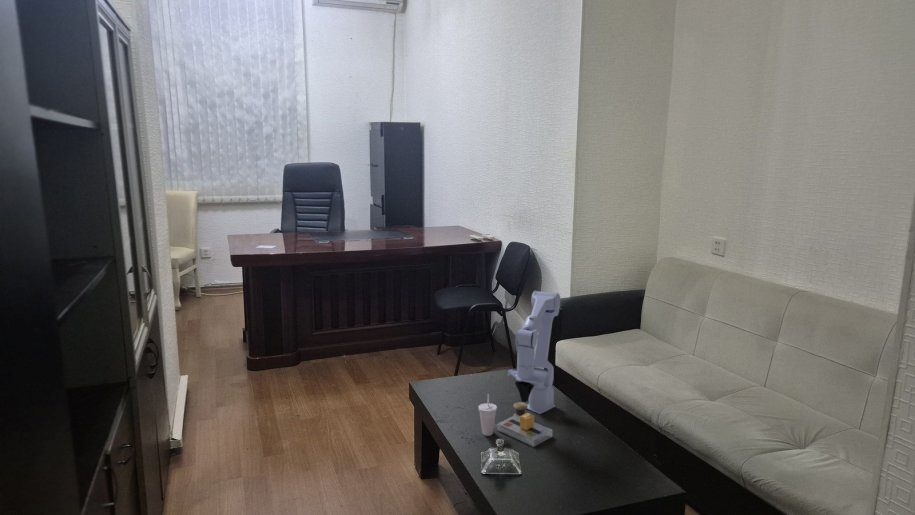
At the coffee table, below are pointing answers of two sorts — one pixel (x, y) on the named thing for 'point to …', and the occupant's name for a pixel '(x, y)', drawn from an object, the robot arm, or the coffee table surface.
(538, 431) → the panel
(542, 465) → the coffee table surface
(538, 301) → the robot arm
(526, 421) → the toggle
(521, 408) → the reel
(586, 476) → the coffee table surface
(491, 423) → the smoothie
